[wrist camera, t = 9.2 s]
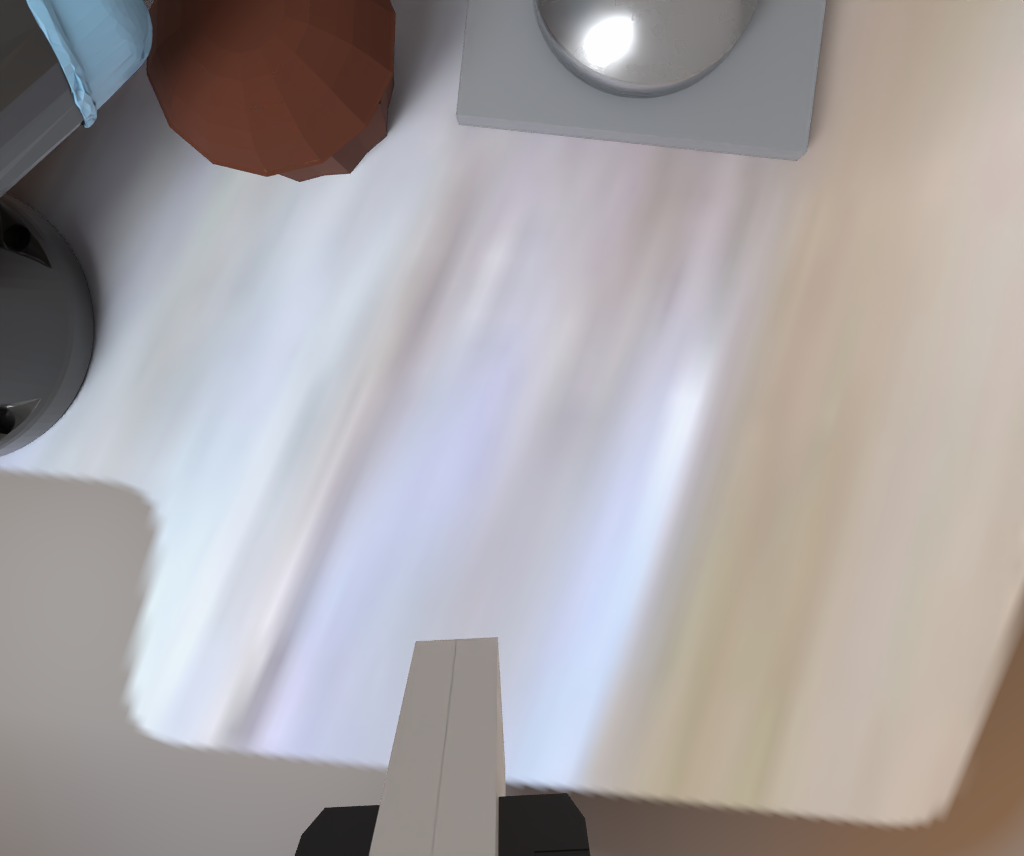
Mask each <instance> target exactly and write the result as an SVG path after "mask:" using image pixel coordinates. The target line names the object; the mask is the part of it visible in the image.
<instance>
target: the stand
mask: <svg viewBox="0 0 1024 856" xmlns="http://www.w3.org/2000/svg"><path fill="white" fill-rule="evenodd" d="M825 6H826V0H758V3H757V6H756V8H755V10H754V12H753V15H752V17H751V19H750V21H749V22H748V24H747V26H746V27H745V29H744V31H743V32H742V34H741V36H740V37H739V39H738V41H737V42H736V44H735V46H734V47H733V49H732V50H731V52H730V53H729V54H728V55H727V57H726V58H725V59H724V60H723V62H722V63H721V64H720V65H719V66H718V67H717V68H716V69H715V70H713V71H712V72H711V73H710V74H709V75H707V76H706V77H705V78H703V79H702V80H701V81H699V82H697V83H695V84H694V85H692V86H690V87H688V88H686V89H683V90H681V91H678V92H676V93H673V94H669V95H665V96H661V97H654V98H626V97H620V96H615V95H612V94H608V93H605V92H602V91H600V90H598V89H595V88H593V87H591V86H589V85H587V84H586V83H584V82H583V81H581V80H579V79H578V78H577V77H575V76H574V75H573V74H572V73H570V72H569V71H568V70H567V69H566V68H565V67H564V66H563V65H562V64H561V63H560V62H559V61H558V60H557V58H556V57H555V55H554V54H553V53H552V51H551V50H550V48H549V47H548V45H547V43H546V41H545V39H544V37H543V36H542V33H541V31H540V28H539V25H538V23H537V19H536V15H535V11H534V6H533V0H468V8H467V18H466V27H465V37H464V46H463V55H462V65H461V74H460V84H459V93H458V102H457V112H456V115H457V119H458V123H459V125H468V126H477V127H487V128H496V129H505V130H515V131H524V132H533V133H543V134H552V135H561V136H571V137H580V138H589V139H599V140H608V141H617V142H627V143H636V144H645V145H655V146H664V147H673V148H683V149H692V150H701V151H711V152H720V153H729V154H739V155H748V156H757V157H767V158H776V159H785V160H795V161H797V160H798V159H799V158H800V157H801V156H803V155H804V154H805V153H806V152H807V147H808V139H809V131H810V124H811V116H812V108H813V100H814V92H815V84H816V77H817V69H818V61H819V53H820V45H821V37H822V30H823V22H824V14H825Z"/></svg>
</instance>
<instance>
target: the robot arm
mask: <svg viewBox="0 0 1024 856" xmlns="http://www.w3.org/2000/svg"><path fill="white" fill-rule="evenodd" d="M152 29H153V28H152V23H151V18H150V15H149V12H148V9H147V6H146V4H145V2H144V0H0V456H3V455H6V454H9V453H11V452H14V451H16V450H18V449H20V448H22V447H24V446H26V445H27V444H29V443H31V442H33V441H34V440H35V439H37V438H38V437H40V436H41V435H42V434H43V433H45V432H46V431H47V430H48V429H49V428H50V427H51V426H53V425H54V424H55V423H56V422H57V420H58V419H59V418H60V417H61V416H62V415H63V414H64V412H65V411H66V410H67V408H68V407H69V406H70V404H71V402H72V401H73V399H74V398H75V396H76V394H77V392H78V390H79V389H80V386H81V384H82V382H83V380H84V377H85V374H86V371H87V368H88V365H89V361H90V357H91V352H92V345H93V333H94V320H93V309H92V303H91V297H90V293H89V289H88V285H87V282H86V279H85V276H84V274H83V272H82V269H81V267H80V265H79V263H78V261H77V259H76V257H75V255H74V254H73V252H72V250H71V249H70V247H69V246H68V244H67V243H66V241H65V240H64V239H63V237H62V236H61V235H60V234H59V233H58V231H57V230H56V229H55V228H54V227H53V226H52V225H51V224H50V223H49V222H48V221H47V220H46V219H45V218H44V217H42V216H41V215H40V214H39V213H37V212H36V211H35V210H33V209H32V208H30V207H29V206H28V205H26V204H24V203H23V202H21V201H19V200H17V199H16V198H13V197H11V196H9V195H7V194H5V193H6V192H7V191H8V190H9V189H10V188H12V187H13V186H14V185H15V184H16V183H17V182H18V181H19V180H20V179H21V178H23V177H24V176H25V175H26V174H27V173H28V172H29V171H30V170H31V169H32V168H34V167H35V166H36V165H37V164H38V163H39V162H40V161H41V160H42V159H44V158H45V157H46V156H47V155H48V154H49V153H50V152H51V151H52V150H53V149H55V148H56V147H57V146H58V145H59V144H60V143H61V142H62V141H63V140H64V139H66V138H67V137H68V136H69V135H70V134H71V133H72V132H73V131H74V130H76V129H77V128H78V127H79V126H80V125H83V126H84V127H85V128H89V127H90V126H91V125H93V124H94V122H95V121H96V119H97V110H98V109H99V108H100V107H101V106H102V105H103V104H104V103H105V102H106V101H107V100H108V99H109V98H110V97H111V96H112V95H113V94H114V93H115V92H116V91H117V90H118V89H119V88H120V87H121V86H122V85H123V84H124V83H125V82H126V81H127V80H128V79H129V78H130V77H131V76H132V75H133V74H134V73H135V72H136V71H137V70H138V69H139V68H140V67H141V66H142V65H143V63H144V62H145V60H146V58H147V57H148V55H149V52H150V49H151V45H152V36H153V35H152ZM295 856H590V852H589V843H588V837H587V829H586V823H585V818H584V816H583V815H582V814H581V812H580V811H579V809H578V808H577V807H576V805H575V804H574V802H573V801H572V800H571V798H570V797H569V796H568V794H567V793H562V794H545V795H544V794H542V795H524V796H523V795H522V796H505V756H504V739H503V721H502V704H501V686H500V669H499V651H498V637H495V638H475V639H455V640H434V641H416V643H415V647H414V652H413V657H412V661H411V666H410V670H409V675H408V679H407V684H406V688H405V693H404V698H403V702H402V707H401V711H400V716H399V720H398V725H397V729H396V734H395V739H394V743H393V748H392V752H391V757H390V761H389V766H388V770H387V775H386V780H385V784H384V789H383V793H382V798H381V802H380V805H372V806H352V807H332V808H324V810H323V811H322V812H321V813H320V814H319V816H318V817H317V818H316V819H315V820H314V821H313V822H312V824H311V825H310V826H309V827H308V828H307V829H306V831H305V832H304V833H303V834H302V836H301V839H300V842H299V845H298V848H297V850H296V854H295Z"/></svg>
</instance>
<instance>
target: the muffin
mask: <svg viewBox="0 0 1024 856" xmlns="http://www.w3.org/2000/svg"><path fill="white" fill-rule="evenodd" d="M149 15H150V18H151V23H152V28H153V29H152V35H153V36H152V45H151V49H150V52H149V55H148V57H147V76H148V78H149V80H150V83H151V85H152V87H153V90H154V92H155V94H156V96H157V99H158V101H159V103H160V106H161V108H162V110H163V112H164V115H165V117H166V119H167V122H168V124H169V126H170V128H172V129H173V130H174V131H175V132H176V133H178V134H179V135H180V136H181V137H182V138H183V139H185V140H186V141H187V142H188V143H189V144H190V145H192V146H193V147H194V148H195V149H196V150H197V151H199V152H200V153H201V154H202V155H203V156H204V157H206V158H207V159H208V160H209V161H210V162H212V163H213V164H216V165H221V166H225V167H229V168H233V169H237V170H241V171H246V172H250V173H254V174H258V175H262V176H266V177H268V176H272V175H276V174H280V175H283V176H285V177H288V178H291V179H293V180H296V181H299V182H301V181H305V180H309V179H313V178H316V177H320V176H324V175H336V174H350V173H351V172H352V171H353V170H354V168H355V167H356V166H357V165H358V163H359V162H360V161H361V160H362V158H363V157H364V156H365V155H366V153H367V152H369V151H370V150H371V149H372V148H373V147H374V146H376V145H377V144H378V143H379V142H380V141H381V140H383V139H384V138H385V137H386V133H387V115H388V107H389V103H390V99H391V95H392V91H393V87H394V41H395V11H394V9H393V7H392V4H391V2H390V0H154V2H153V4H152V6H151V8H150V11H149Z"/></svg>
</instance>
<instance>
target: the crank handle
mask: <svg viewBox="0 0 1024 856" xmlns="http://www.w3.org/2000/svg"><path fill="white" fill-rule="evenodd" d="M757 3H758V0H533V6H534V11H535V15H536V19H537V23H538V25H539V28H540V31H541V33H542V36H543V37H544V39H545V41H546V43H547V45H548V47H549V48H550V50H551V51H552V53H553V54H554V55H555V57H556V58H557V60H558V61H559V62H560V63H561V64H562V65H563V66H564V67H565V68H566V69H567V70H568V71H569V72H570V73H572V74H573V75H574V76H575V77H577V78H578V79H579V80H581V81H583V82H584V83H586V84H587V85H589V86H591V87H593V88H595V89H598V90H600V91H602V92H605V93H608V94H612V95H615V96H620V97H626V98H654V97H661V96H665V95H669V94H673V93H676V92H678V91H681V90H683V89H686V88H688V87H690V86H692V85H694V84H695V83H697V82H699V81H701V80H702V79H703V78H705V77H706V76H707V75H709V74H710V73H711V72H712V71H713V70H715V69H716V68H717V67H718V66H719V65H720V64H721V63H722V62H723V60H724V59H725V58H726V57H727V55H728V54H729V53H730V52H731V50H732V49H733V47H734V46H735V44H736V42H737V41H738V39H739V37H740V36H741V34H742V32H743V31H744V29H745V27H746V26H747V24H748V22H749V21H750V19H751V17H752V15H753V12H754V10H755V8H756V6H757Z"/></svg>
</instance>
